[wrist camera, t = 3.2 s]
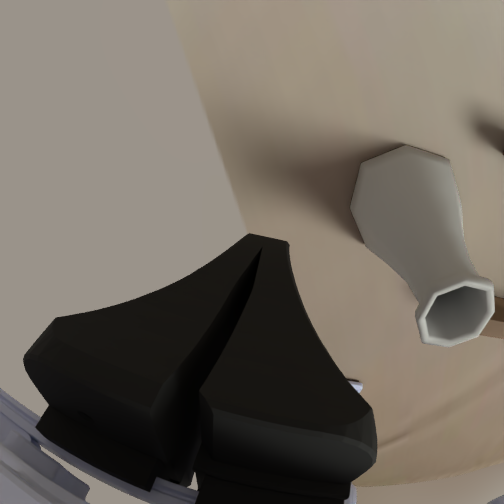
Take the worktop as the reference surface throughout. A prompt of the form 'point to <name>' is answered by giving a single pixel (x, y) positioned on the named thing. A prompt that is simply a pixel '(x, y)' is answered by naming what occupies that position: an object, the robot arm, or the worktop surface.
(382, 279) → the worktop surface
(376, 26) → the worktop surface
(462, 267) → the flask
